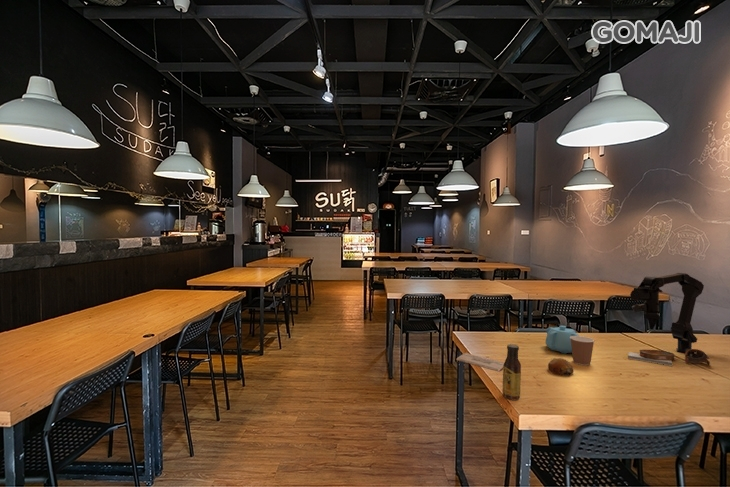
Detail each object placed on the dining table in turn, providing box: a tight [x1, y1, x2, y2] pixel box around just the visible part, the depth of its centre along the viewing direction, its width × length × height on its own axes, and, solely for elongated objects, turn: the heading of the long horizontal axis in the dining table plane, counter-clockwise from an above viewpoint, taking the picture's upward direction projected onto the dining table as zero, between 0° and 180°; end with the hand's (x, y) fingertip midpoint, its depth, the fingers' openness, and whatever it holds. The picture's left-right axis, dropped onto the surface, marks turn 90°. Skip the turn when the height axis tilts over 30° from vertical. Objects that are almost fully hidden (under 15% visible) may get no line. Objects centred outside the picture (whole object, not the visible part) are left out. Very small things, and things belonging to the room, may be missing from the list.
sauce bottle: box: [502, 343, 522, 401], centre depth 132 cm, size 7×6×20 cm
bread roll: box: [547, 357, 574, 377], centre depth 158 cm, size 10×10×8 cm
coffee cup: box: [570, 335, 595, 366], centre depth 170 cm, size 10×10×12 cm
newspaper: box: [456, 352, 504, 372], centre depth 170 cm, size 23×12×2 cm, turn 46°
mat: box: [627, 351, 673, 367], centre depth 177 cm, size 12×17×1 cm
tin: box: [639, 349, 676, 361], centre depth 178 cm, size 15×3×8 cm
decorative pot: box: [544, 325, 580, 355], centre depth 190 cm, size 16×16×14 cm
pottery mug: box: [684, 348, 711, 366], centre depth 171 cm, size 12×10×8 cm
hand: (651, 329), depth 187 cm, fingers closed
